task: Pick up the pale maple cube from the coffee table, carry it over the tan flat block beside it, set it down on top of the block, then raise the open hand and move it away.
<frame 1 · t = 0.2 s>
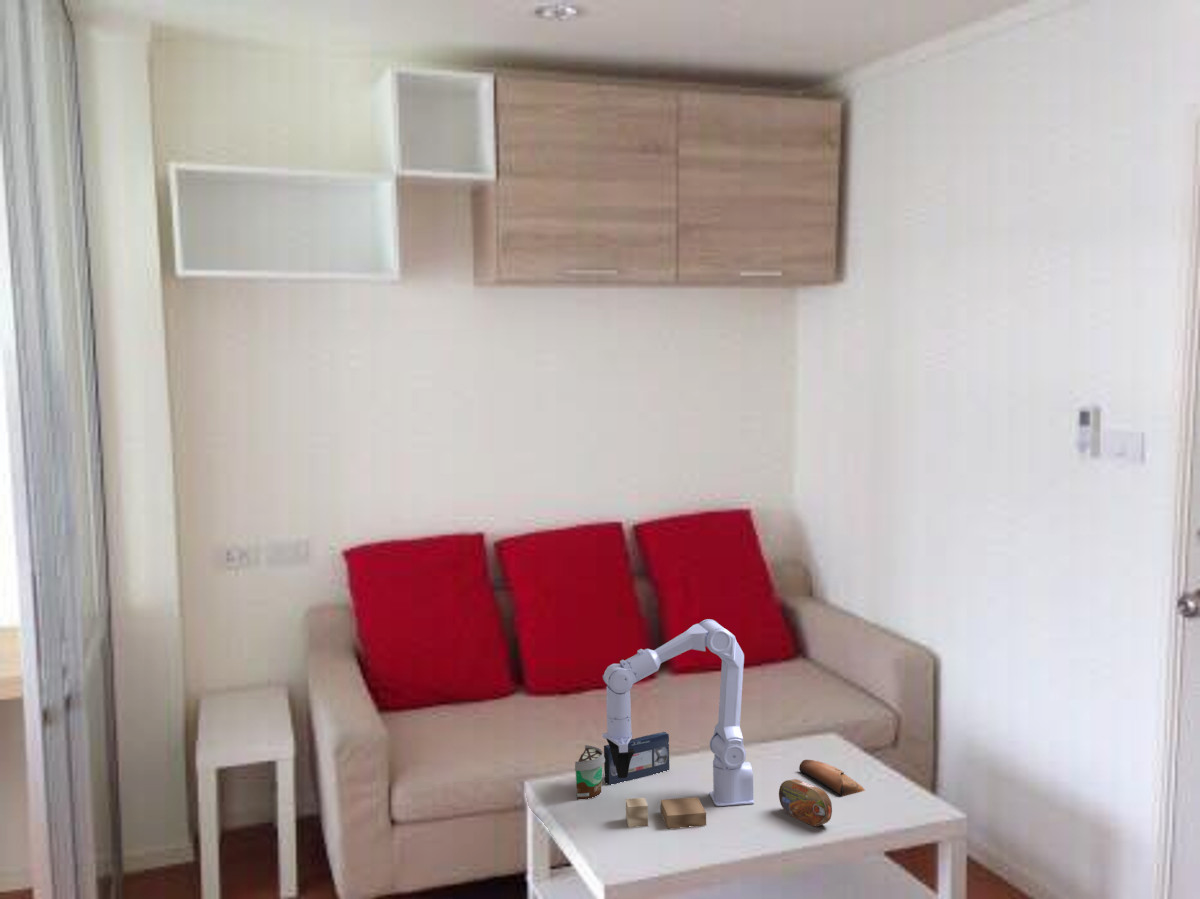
hand: (620, 771, 263), 10 cm above the table, tool pointing down, fingers open, 7 cm apart
sunglasses case: (832, 783, 280), on the table
tin: (805, 819, 258), on the table
maple cube: (636, 823, 258), on the table
food container: (593, 793, 276), on the table
vhs cassette tape: (637, 777, 286), on the table
tan flat block: (683, 820, 260), on the table
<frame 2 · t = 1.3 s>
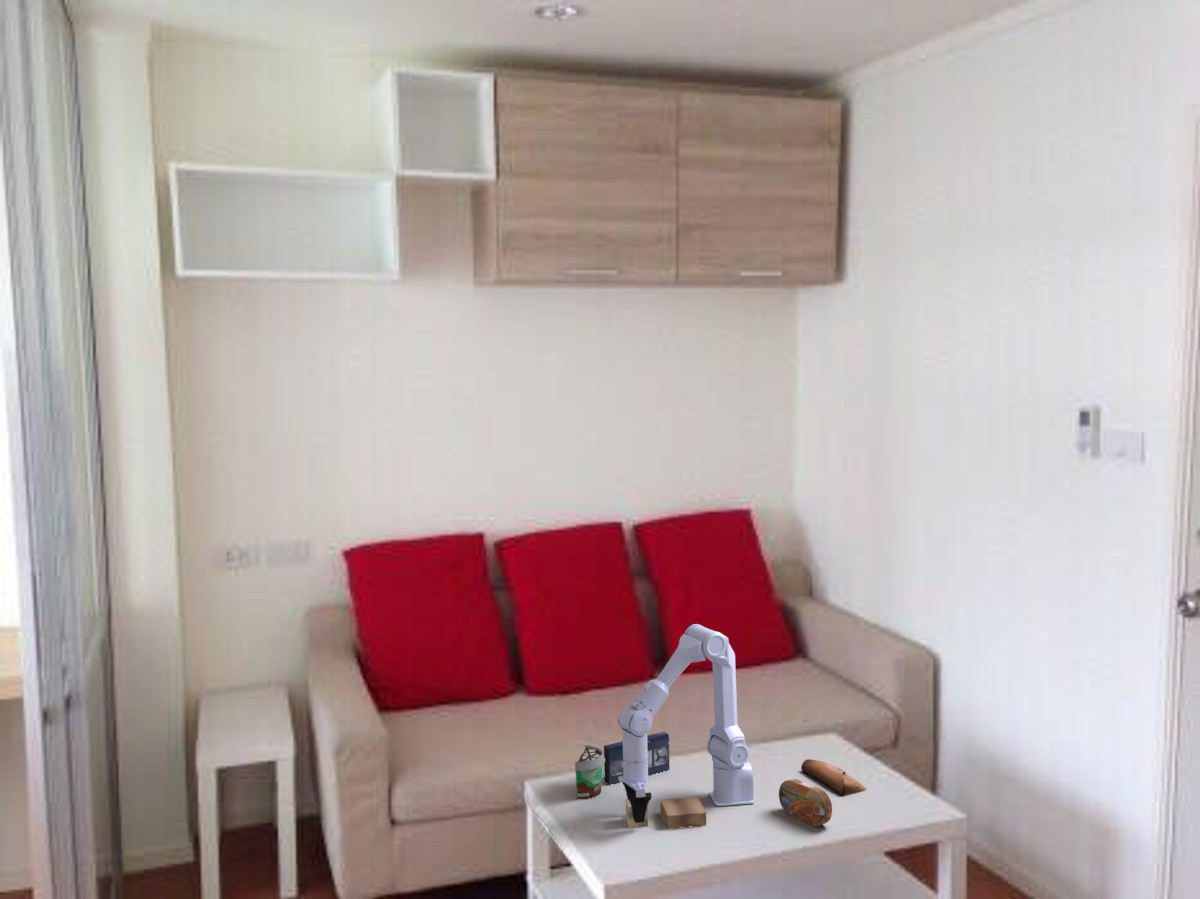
hand: (636, 814, 258), 2 cm above the table, tool pointing down, fingers open, 7 cm apart
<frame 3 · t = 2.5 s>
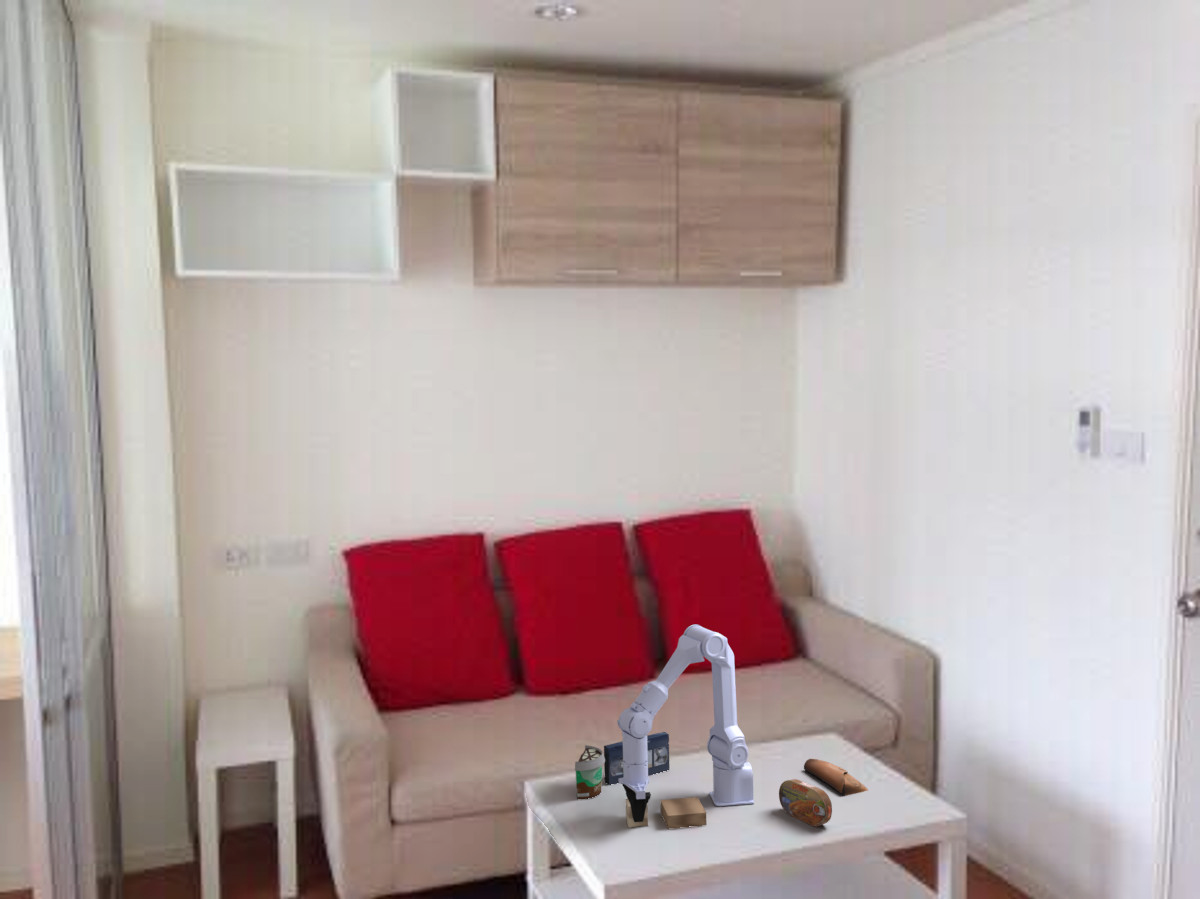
hand: (636, 816, 258), 1 cm above the table, tool pointing down, fingers closed on maple cube, 4 cm apart
maple cube: (636, 822, 258), on the table, touching gripper
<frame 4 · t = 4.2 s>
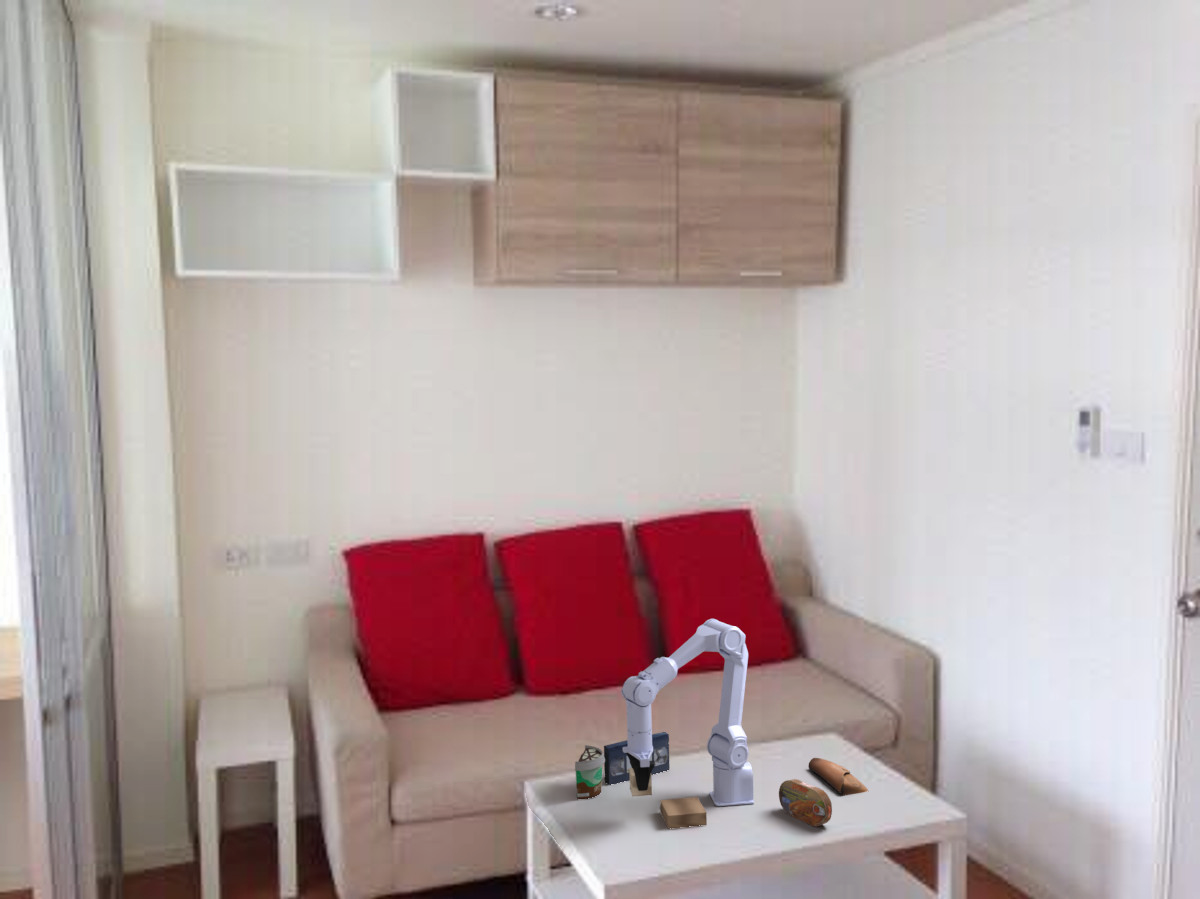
hand: (640, 785, 258), 9 cm above the table, tool pointing down, fingers closed on maple cube, 4 cm apart
maple cube: (640, 791, 258), point 7 cm above the table, touching gripper
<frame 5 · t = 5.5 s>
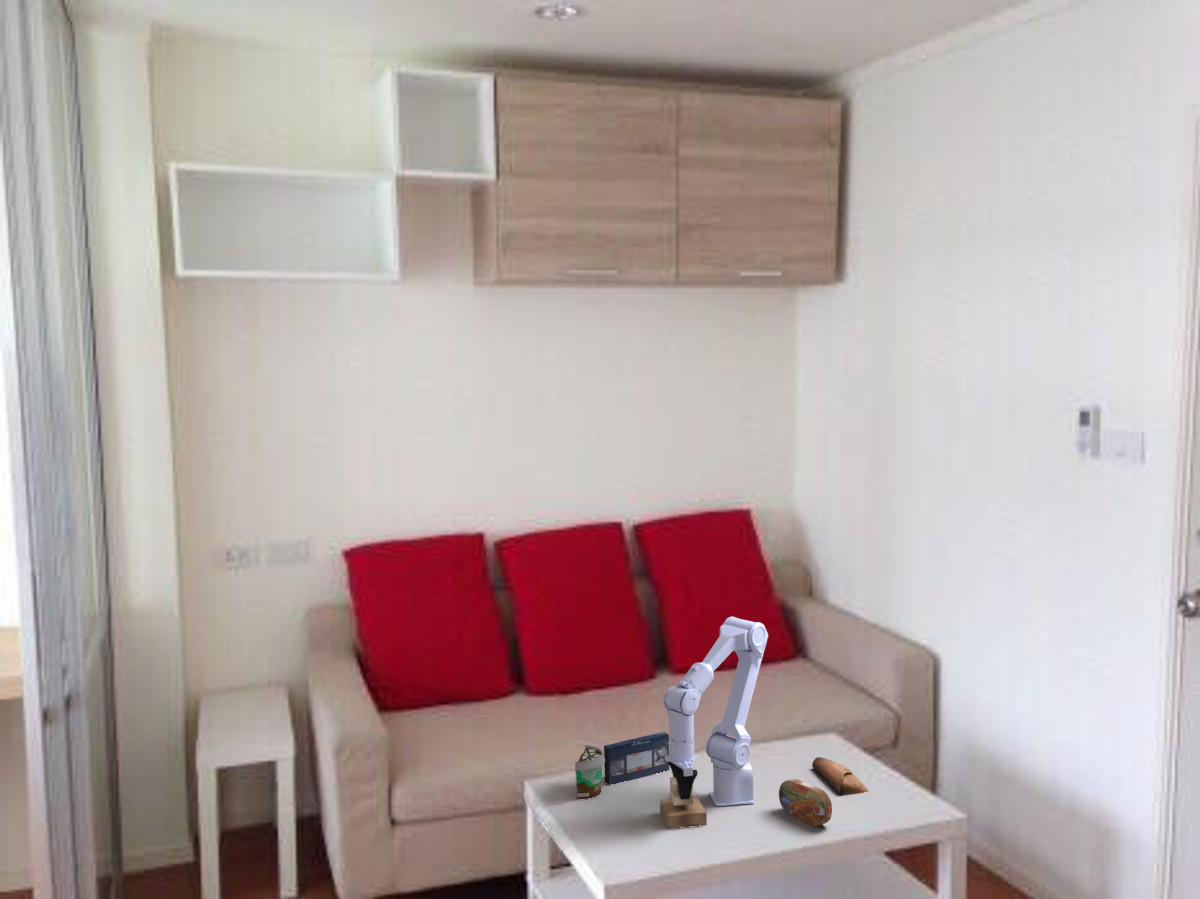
hand: (682, 794, 259), 6 cm above the table, tool pointing down, fingers closed on maple cube, 4 cm apart
maple cube: (681, 800, 259), point 4 cm above the table, touching gripper
when the fingers open (6 cm above the table, at t = 6.3 s): maple cube drops 1 cm, resting on tan flat block.
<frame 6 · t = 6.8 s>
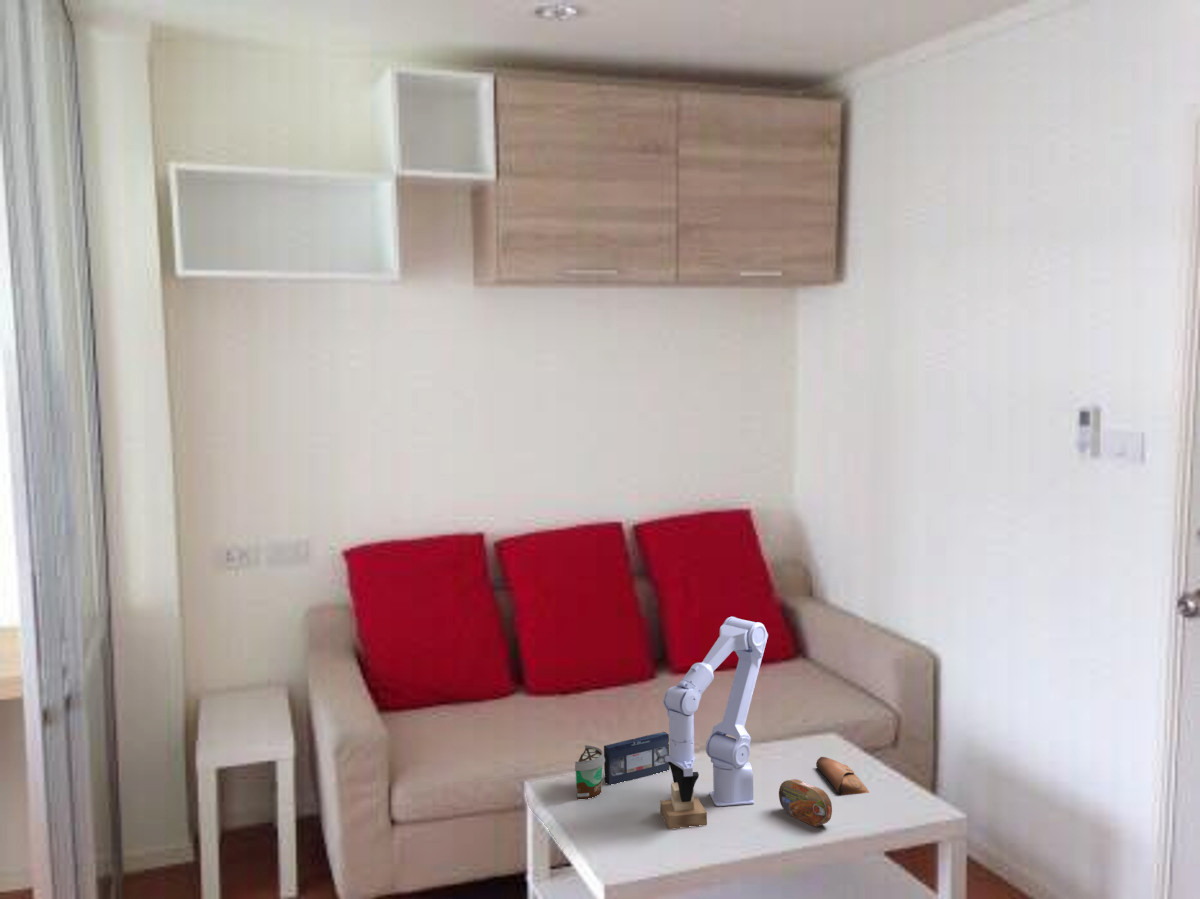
hand: (682, 794, 259), 6 cm above the table, tool pointing down, fingers open, 7 cm apart
maple cube: (682, 806, 259), point 3 cm above the table, touching tan flat block
tan flat block: (683, 820, 260), on the table, touching maple cube
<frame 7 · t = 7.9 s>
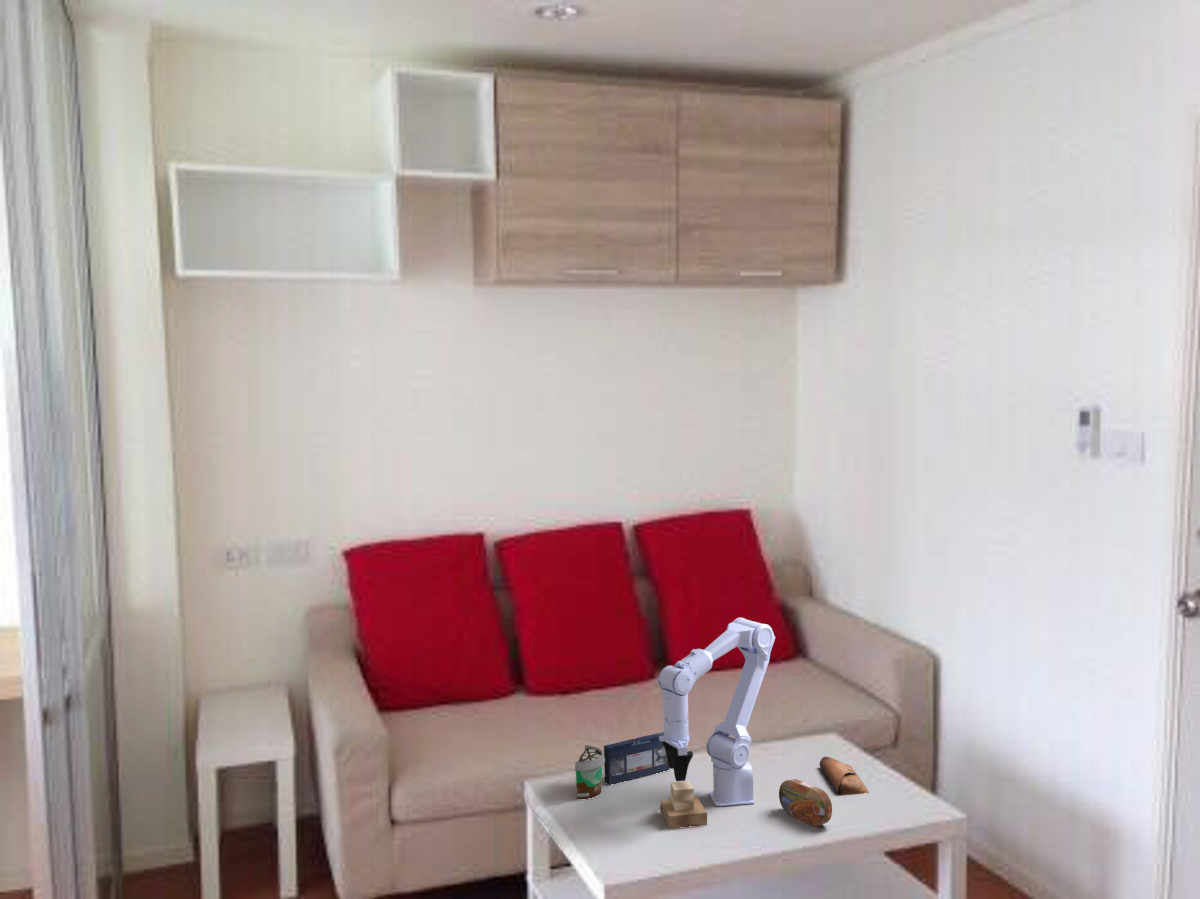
hand: (677, 774, 260), 10 cm above the table, tool pointing down, fingers open, 7 cm apart
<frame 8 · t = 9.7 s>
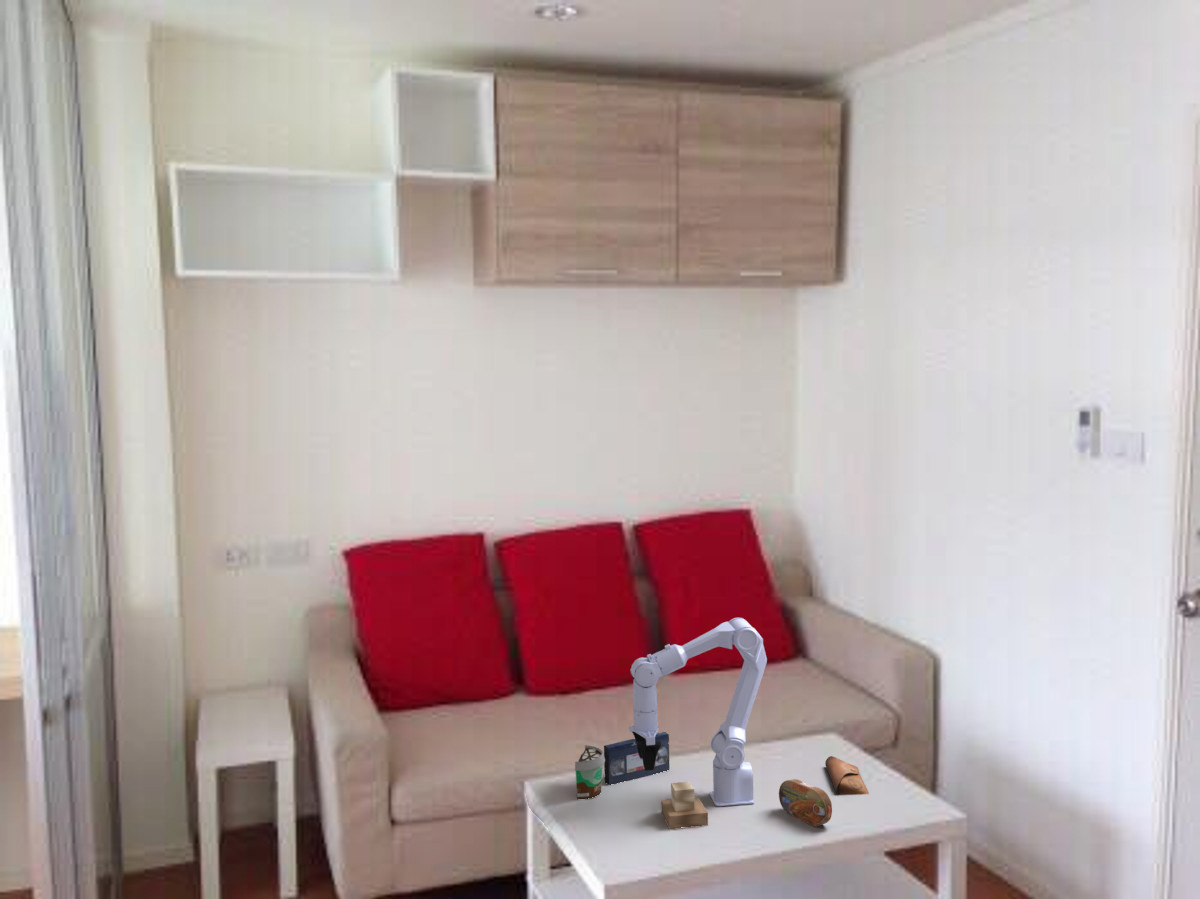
hand: (646, 763, 267), 10 cm above the table, tool pointing down, fingers open, 7 cm apart
at the end: maple cube 0.3 cm off-centre on the tan flat block, point 3.5 cm above the tan flat block's base; maple cube tilted 0°; the gripper is holding nothing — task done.
